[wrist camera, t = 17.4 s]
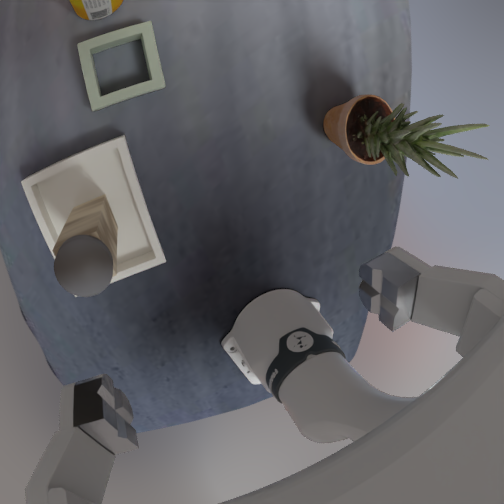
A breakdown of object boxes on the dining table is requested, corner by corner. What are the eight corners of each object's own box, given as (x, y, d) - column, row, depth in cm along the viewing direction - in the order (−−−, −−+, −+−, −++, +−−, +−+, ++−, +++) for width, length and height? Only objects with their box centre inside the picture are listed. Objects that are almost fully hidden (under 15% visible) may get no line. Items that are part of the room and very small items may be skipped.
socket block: (162, 88, 30) (165, 86, 28) (95, 111, 28) (92, 111, 26) (149, 27, 26) (151, 20, 23) (80, 49, 24) (76, 44, 22)
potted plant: (347, 82, 38) (501, 98, 18) (370, 134, 43) (509, 176, 23) (299, 115, 38) (461, 145, 18) (328, 168, 43) (471, 231, 23)
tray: (163, 251, 39) (166, 261, 37) (77, 285, 36) (75, 297, 34) (124, 134, 31) (124, 136, 28) (28, 176, 28) (20, 181, 25)
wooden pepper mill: (121, 228, 35) (122, 284, 24) (85, 243, 34) (71, 304, 23) (107, 189, 32) (97, 230, 21) (69, 206, 31) (43, 254, 20)
